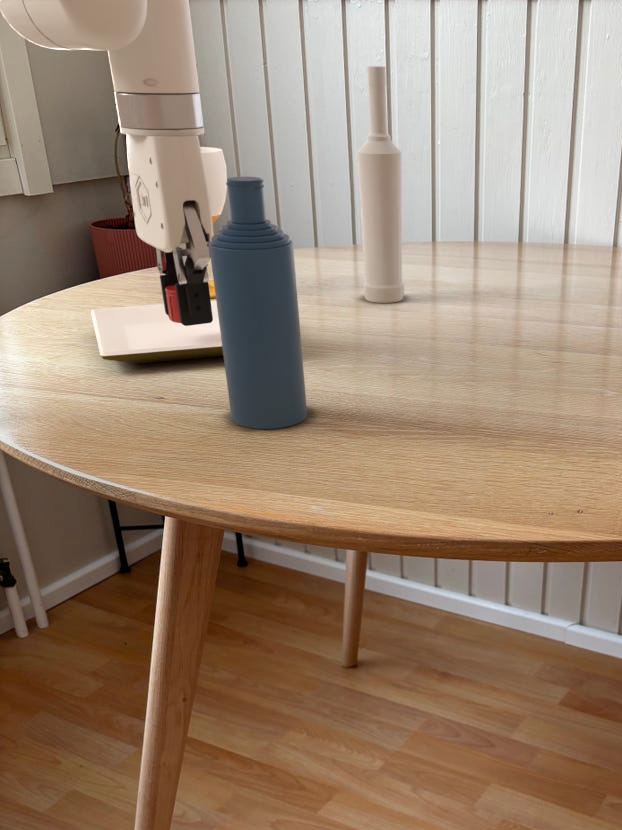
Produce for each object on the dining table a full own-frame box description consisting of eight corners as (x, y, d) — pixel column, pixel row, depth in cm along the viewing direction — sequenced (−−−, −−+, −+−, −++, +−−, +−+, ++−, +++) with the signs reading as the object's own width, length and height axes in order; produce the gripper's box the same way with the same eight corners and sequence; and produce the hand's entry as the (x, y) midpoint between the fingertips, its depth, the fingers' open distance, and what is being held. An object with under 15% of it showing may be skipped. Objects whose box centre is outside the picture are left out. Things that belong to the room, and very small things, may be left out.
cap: (192, 325, 94) (187, 293, 93) (161, 320, 96) (156, 288, 94) (217, 317, 97) (213, 286, 96) (187, 313, 99) (183, 282, 97)
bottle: (402, 293, 121) (397, 66, 107) (406, 302, 116) (401, 67, 103) (362, 294, 120) (351, 65, 106) (365, 303, 116) (354, 66, 102)
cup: (247, 283, 124) (232, 147, 116) (234, 299, 117) (217, 154, 108) (178, 282, 124) (157, 145, 115) (160, 298, 116) (137, 153, 108)
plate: (93, 327, 104) (89, 308, 103) (262, 315, 110) (260, 296, 109) (104, 375, 89) (99, 353, 88) (297, 358, 96) (295, 337, 94)
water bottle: (240, 433, 77) (209, 185, 67) (224, 409, 82) (193, 174, 72) (316, 423, 79) (297, 182, 69) (296, 400, 84) (275, 172, 74)
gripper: (94, 110, 91) (127, 306, 100) (149, 122, 79) (181, 342, 89) (170, 109, 94) (195, 299, 104) (233, 121, 83) (255, 332, 93)
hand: (189, 317), depth 96 cm, fingers closed on cap, 3 cm apart
